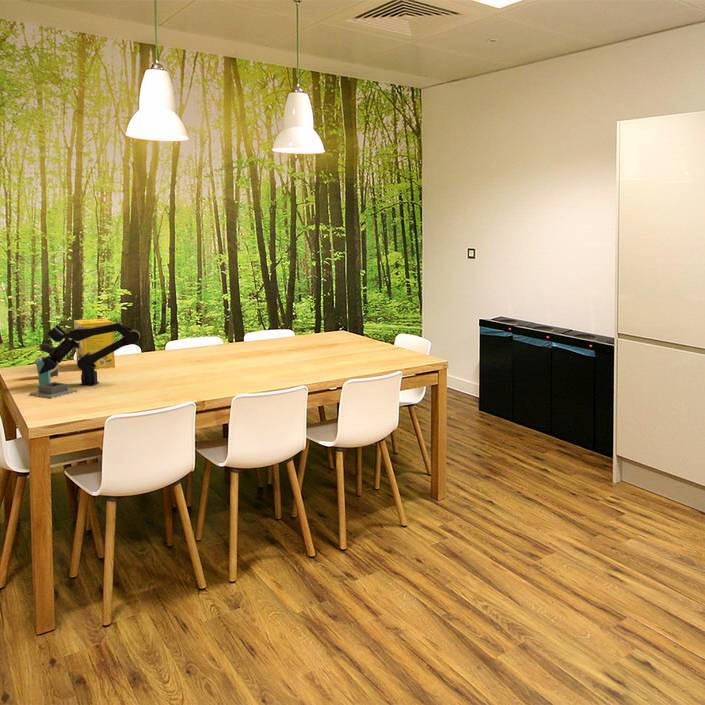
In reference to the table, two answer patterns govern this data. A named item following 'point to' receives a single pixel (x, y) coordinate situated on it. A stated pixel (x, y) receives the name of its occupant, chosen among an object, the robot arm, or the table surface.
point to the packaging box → (95, 342)
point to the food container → (52, 372)
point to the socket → (53, 390)
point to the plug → (45, 376)
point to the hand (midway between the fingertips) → (41, 372)
